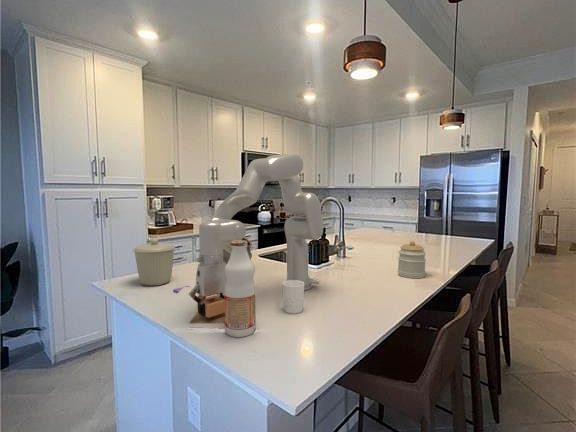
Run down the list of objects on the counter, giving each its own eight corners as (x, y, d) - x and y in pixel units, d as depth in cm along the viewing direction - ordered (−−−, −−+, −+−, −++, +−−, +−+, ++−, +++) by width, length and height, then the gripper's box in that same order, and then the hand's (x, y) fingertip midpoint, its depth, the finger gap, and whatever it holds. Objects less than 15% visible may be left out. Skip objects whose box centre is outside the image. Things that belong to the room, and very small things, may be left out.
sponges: (188, 299, 128) (188, 295, 128) (172, 292, 136) (172, 288, 136) (203, 295, 133) (203, 291, 133) (187, 289, 142) (187, 285, 141)
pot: (206, 270, 172) (205, 223, 170) (238, 263, 186) (238, 221, 184) (226, 277, 157) (225, 227, 155) (260, 270, 171) (259, 224, 169)
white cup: (291, 304, 121) (291, 278, 120) (308, 309, 116) (308, 282, 115) (278, 310, 115) (277, 283, 114) (295, 316, 110) (295, 287, 109)
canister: (140, 291, 136) (138, 242, 135) (129, 282, 150) (127, 237, 148) (182, 283, 148) (180, 238, 146) (168, 275, 162) (167, 234, 160)
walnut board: (239, 302, 124) (239, 298, 124) (227, 327, 101) (227, 323, 101) (208, 301, 124) (208, 298, 124) (189, 327, 101) (189, 323, 101)
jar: (431, 277, 158) (432, 242, 157) (410, 280, 153) (411, 243, 152) (411, 271, 170) (413, 238, 169) (392, 273, 165) (393, 239, 164)
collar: (227, 311, 106) (227, 300, 106) (208, 317, 102) (208, 305, 101) (215, 306, 111) (215, 295, 111) (197, 311, 107) (197, 300, 106)
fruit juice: (236, 341, 92) (234, 245, 90) (219, 330, 99) (217, 241, 97) (261, 331, 98) (261, 241, 96) (244, 321, 105) (243, 237, 103)
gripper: (192, 265, 96) (193, 322, 98) (239, 257, 108) (240, 308, 110) (181, 261, 102) (182, 315, 103) (227, 253, 114) (228, 302, 115)
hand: (212, 311), depth 106 cm, fingers closed on collar, 7 cm apart
